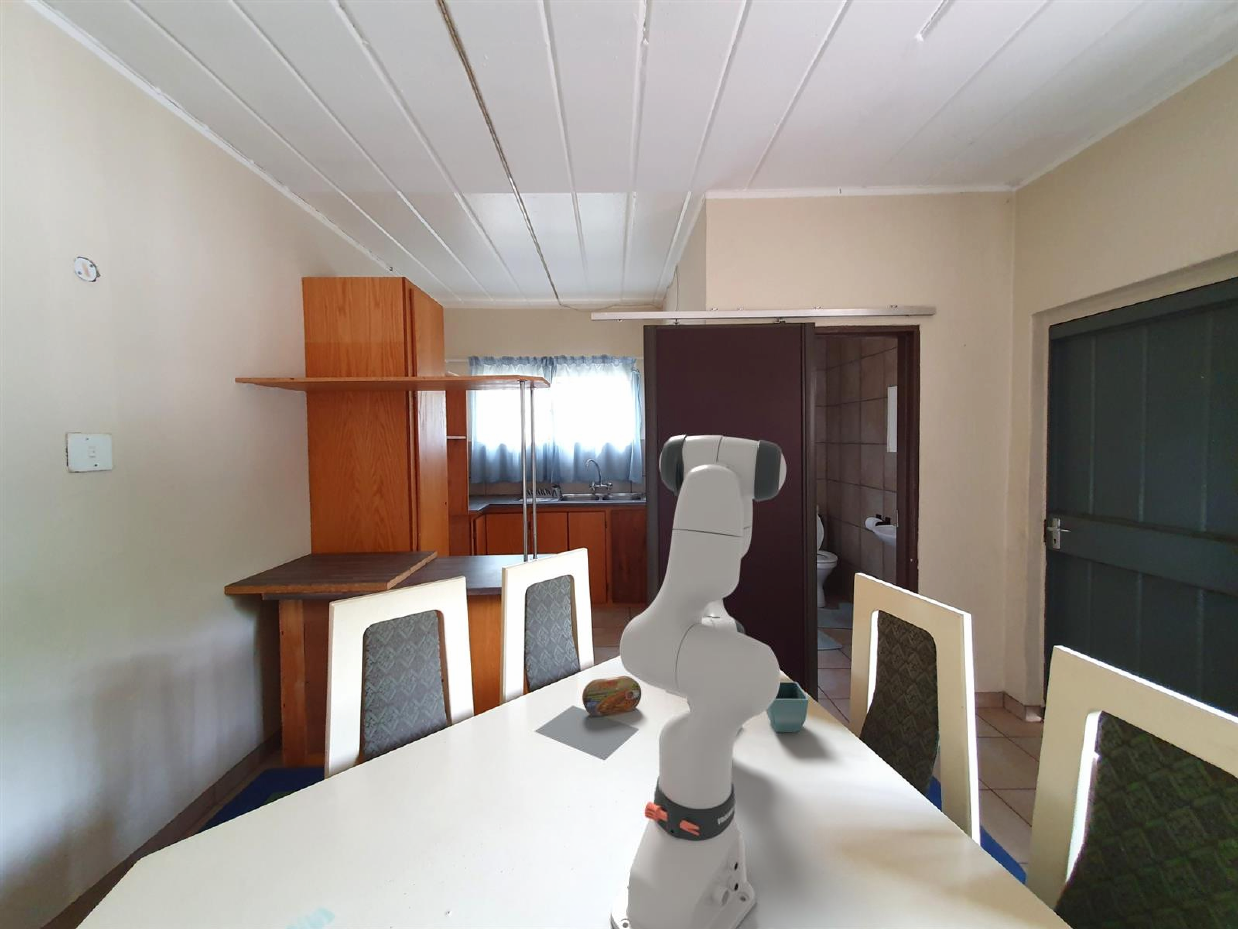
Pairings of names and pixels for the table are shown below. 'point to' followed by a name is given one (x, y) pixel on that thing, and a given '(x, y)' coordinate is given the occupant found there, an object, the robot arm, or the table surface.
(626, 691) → the tin
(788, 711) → the flower pot
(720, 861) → the robot arm
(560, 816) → the table surface
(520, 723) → the table surface
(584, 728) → the mat
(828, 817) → the table surface
